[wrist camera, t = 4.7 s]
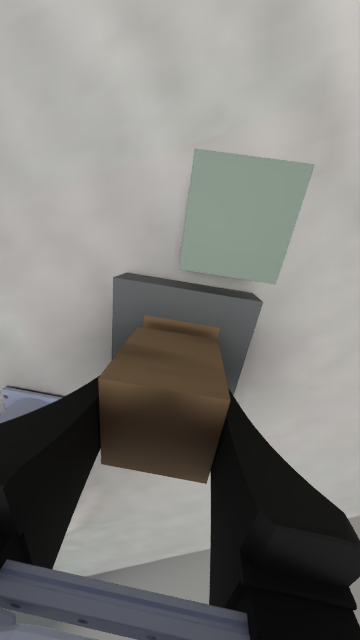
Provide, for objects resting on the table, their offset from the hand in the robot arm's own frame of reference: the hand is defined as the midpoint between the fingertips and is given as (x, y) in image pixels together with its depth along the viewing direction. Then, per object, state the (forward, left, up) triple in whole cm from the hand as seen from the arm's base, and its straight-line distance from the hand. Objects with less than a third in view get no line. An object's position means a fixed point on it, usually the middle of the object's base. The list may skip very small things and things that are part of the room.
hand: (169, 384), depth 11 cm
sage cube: (+9, -2, -6) cm, 11 cm away
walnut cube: (0, 0, -2) cm, 2 cm away
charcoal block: (0, 0, -6) cm, 6 cm away
